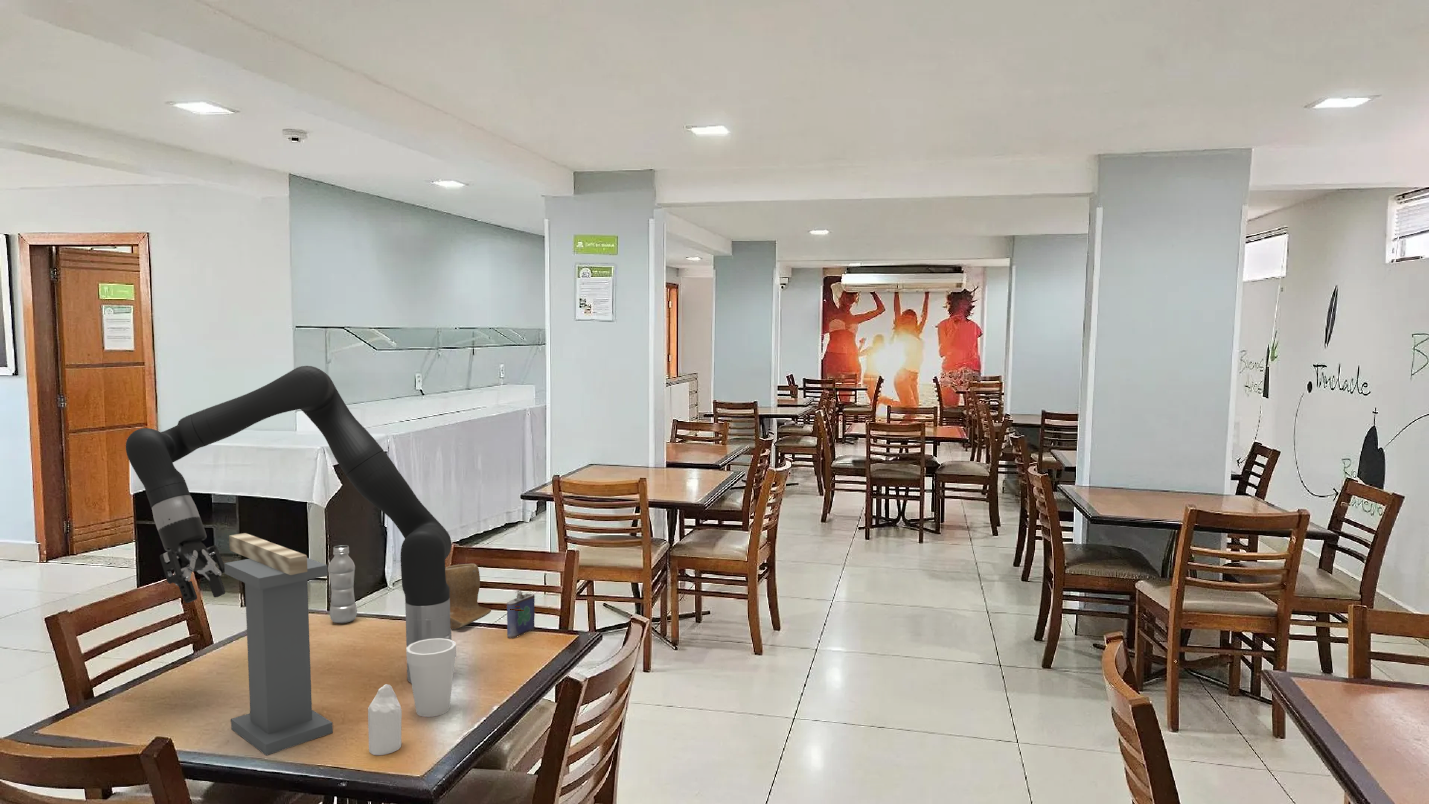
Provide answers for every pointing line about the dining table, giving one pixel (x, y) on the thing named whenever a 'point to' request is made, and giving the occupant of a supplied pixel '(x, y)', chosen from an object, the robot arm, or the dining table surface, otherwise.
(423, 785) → the dining table surface
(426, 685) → the foam cup
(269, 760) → the dining table surface
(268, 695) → the stand
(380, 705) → the white pointed cylinder
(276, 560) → the light wooden bar
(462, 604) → the brown curved chair
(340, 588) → the plastic bottle
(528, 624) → the flask
